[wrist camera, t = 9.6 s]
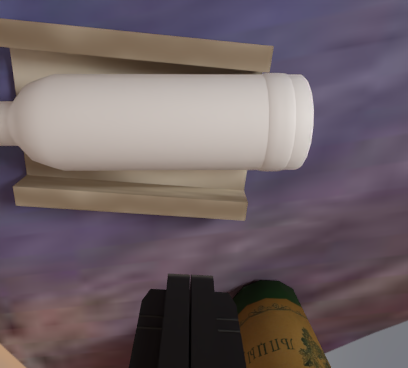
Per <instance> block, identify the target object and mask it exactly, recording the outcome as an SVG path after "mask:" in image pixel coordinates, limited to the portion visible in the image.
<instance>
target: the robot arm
mask: <svg viewBox="0 0 408 368" xmlns="http://www.w3.org/2000/svg"><path fill="white" fill-rule="evenodd" d="M129 368H246V362H245V356H244V349H243V343H242V337H241V333H240V325H239V321H238V313H237V307H236V304H235V302H234V301H233V299H232V298H231V296H230V295H229V294H228V293H222V292H214V281H213V276H204V275H191V281H190V275H183V274H168V280H167V289H166V290H160V289H150V291H149V292H148V293H147V295H146V296H145V297H144V299H143V300H142V303H141V308H140V313H139V318H138V323H137V329H136V334H135V339H134V344H133V349H132V354H131V359H130V365H129Z"/></svg>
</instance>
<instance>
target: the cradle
mask: <svg viewBox="0 0 408 368" xmlns="http://www.w3.org/2000/svg"><path fill="white" fill-rule="evenodd" d="M0 47H8V48H10V53H11V61H12V68H13V76H14V83H15V90H16V96H17V95H18V94H19V92H20V91H21V89H22V88H23V87H24V86H26V85H27V84H28V83H30V82H33V81H35V80H38V79H40V78H43V77H46V76H49V75H53V74H262V72H268V73H269V72H270V66H271V59H272V53H273V47H274V46H266V45H256V44H246V43H236V42H226V41H217V40H207V39H197V38H187V37H177V36H168V35H158V34H148V33H138V32H128V31H119V30H109V29H99V28H89V27H79V26H70V25H60V24H50V23H40V22H30V21H20V20H11V19H1V18H0ZM24 157H25V164H26V172H27V175H26V176H25V177H24V178H23V179H21V180H20V181H19V182H18V183H16V184H15V185H14V186H13V191H14V197H15V203H16V206H30V207H45V208H60V209H76V210H91V211H106V212H122V213H137V214H152V215H167V216H183V217H198V218H213V219H228V220H244V221H245V217H246V211H247V205H248V202H247V199H246V196H245V193H244V186H245V179H246V173H247V170H126V171H64V170H60V169H56V168H53V167H50V166H47V165H44V164H41V163H38V162H35V161H33V160H31V158H30V157H29V156H28V155H27V154H26V153H25V152H24Z"/></svg>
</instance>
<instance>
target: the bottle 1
mask: <svg viewBox="0 0 408 368" xmlns="http://www.w3.org/2000/svg"><path fill="white" fill-rule="evenodd" d="M313 119H314V107H313V98H312V92H311V89H310V86H309V83H308V81H307V80H306V79H305V78H304V77H303V76H302V75H287V74H285V73H264V74H53V75H49V76H46V77H43V78H40V79H38V80H35V81H33V82H30V83H28V84H27V85H26V86H24V87H23V88H22V89H21V91H20V92H19V94H18V95H17V96H16V98H15V99H14V101H0V146H19V147H20V148H21V149H22V150H23V151H24V152H25V153H26V154H27V155H28V156H29V157H30V158H31V160H33V161H35V162H38V163H41V164H44V165H47V166H50V167H53V168H56V169H60V170H64V171H126V170H260V171H280V170H295V169H297V168H299V167H301V166H302V164H303V163H304V161H305V159H306V157H307V155H308V151H309V148H310V145H311V139H312V132H313Z"/></svg>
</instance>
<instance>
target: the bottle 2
mask: <svg viewBox="0 0 408 368" xmlns="http://www.w3.org/2000/svg"><path fill="white" fill-rule="evenodd" d="M233 301H234V302H235V304H236V307H237V313H238V321H239V325H240V333H241V337H242V343H243V349H244V356H245V362H246V368H331V366H330V364H329V362H328V360H327V359H326V356H325V354H324V352H323V350H322V348H321V346H320V344H319V342H318V340H317V338H316V336H315V334H314V331H313V329H312V327H311V325H310V323H309V321H308V319H307V317H306V315H305V313H304V311H303V309H302V307H301V305H300V303H299V301H298V299H297V297H296V295H295V293H294V290H293V289H292V288H290V287H289V286H287V285H285V284H283V283H281V282H280V281H267V280H260V281H257V282H255V283H252V284H250V285H247V286H245V287H243V288H242V289H241V290H240V291H239V293H238V294H237V295H236V296H235V297H234V298H233Z"/></svg>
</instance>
